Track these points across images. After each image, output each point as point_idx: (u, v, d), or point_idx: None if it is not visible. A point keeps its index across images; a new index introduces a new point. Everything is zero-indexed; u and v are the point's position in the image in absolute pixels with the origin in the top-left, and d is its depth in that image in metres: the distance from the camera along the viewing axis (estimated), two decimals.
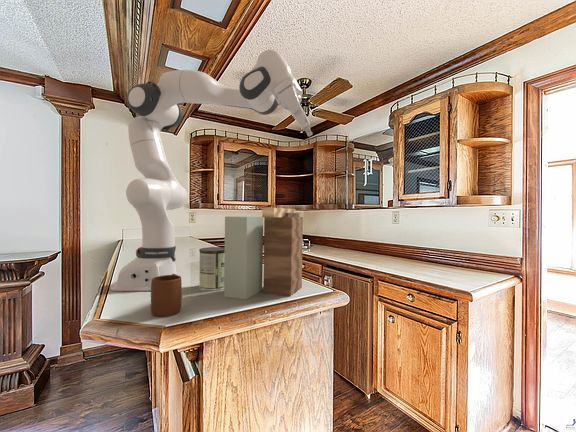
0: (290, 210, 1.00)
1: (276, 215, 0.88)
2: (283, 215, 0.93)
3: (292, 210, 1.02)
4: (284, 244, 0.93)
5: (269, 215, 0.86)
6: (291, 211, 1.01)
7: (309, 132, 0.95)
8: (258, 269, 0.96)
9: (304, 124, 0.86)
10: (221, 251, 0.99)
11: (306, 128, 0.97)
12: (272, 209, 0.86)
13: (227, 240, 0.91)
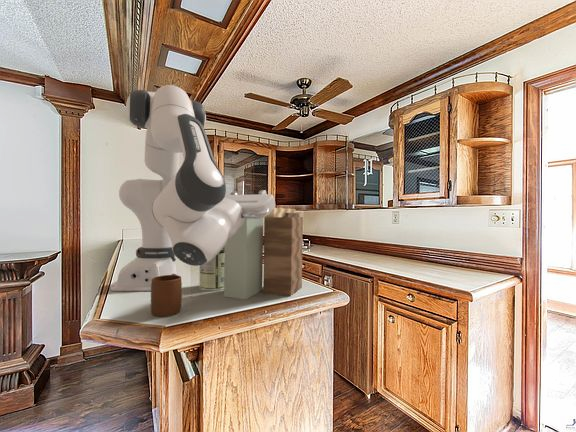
0: (290, 210, 1.00)
1: (276, 215, 0.88)
2: (283, 215, 0.93)
3: (292, 210, 1.02)
4: (284, 244, 0.93)
5: (269, 215, 0.86)
6: (291, 211, 1.01)
7: None
8: (258, 269, 0.96)
9: None
10: (221, 251, 0.99)
11: None
12: None
13: None
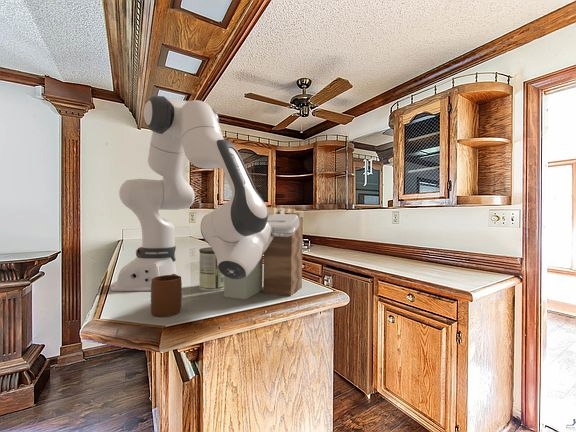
0: (290, 210, 1.00)
1: None
2: None
3: (292, 210, 1.02)
4: (284, 244, 0.93)
5: None
6: (291, 211, 1.01)
7: None
8: (258, 269, 0.96)
9: None
10: None
11: None
12: (272, 209, 0.86)
13: None
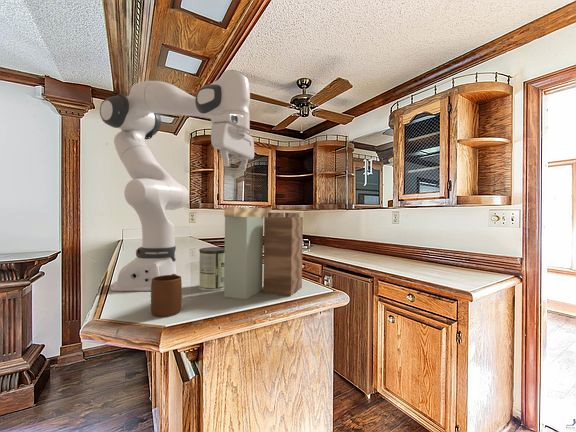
0: (262, 210, 0.98)
1: (238, 215, 0.88)
2: (250, 215, 0.93)
3: (266, 210, 1.00)
4: (284, 244, 0.93)
5: (230, 214, 0.87)
6: (264, 211, 0.99)
7: (241, 168, 0.92)
8: (258, 269, 0.96)
9: (225, 164, 0.83)
10: (221, 251, 0.99)
11: (243, 162, 0.93)
12: (232, 208, 0.86)
13: (227, 240, 0.91)
